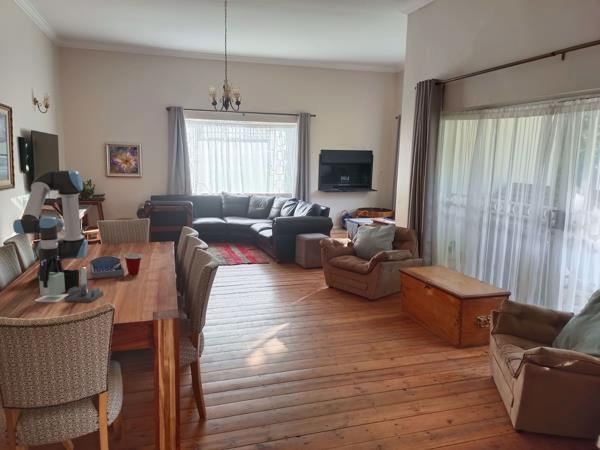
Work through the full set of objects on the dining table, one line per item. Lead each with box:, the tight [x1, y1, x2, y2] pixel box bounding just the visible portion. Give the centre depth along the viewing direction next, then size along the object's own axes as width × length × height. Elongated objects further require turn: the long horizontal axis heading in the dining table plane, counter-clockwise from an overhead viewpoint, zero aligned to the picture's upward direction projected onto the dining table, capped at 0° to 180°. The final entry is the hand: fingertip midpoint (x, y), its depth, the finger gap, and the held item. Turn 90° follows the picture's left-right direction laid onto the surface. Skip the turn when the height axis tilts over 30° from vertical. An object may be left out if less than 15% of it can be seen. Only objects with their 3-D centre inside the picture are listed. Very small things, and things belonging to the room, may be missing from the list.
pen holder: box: [60, 269, 80, 291], centre depth 244 cm, size 9×9×10 cm
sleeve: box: [38, 272, 66, 296], centre depth 225 cm, size 8×8×10 cm
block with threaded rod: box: [63, 266, 104, 303], centre depth 227 cm, size 14×12×16 cm
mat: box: [34, 293, 68, 304], centre depth 226 cm, size 12×12×1 cm
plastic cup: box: [123, 253, 143, 276], centre depth 276 cm, size 11×11×12 cm
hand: (52, 290), depth 226 cm, fingers closed on sleeve, 8 cm apart
